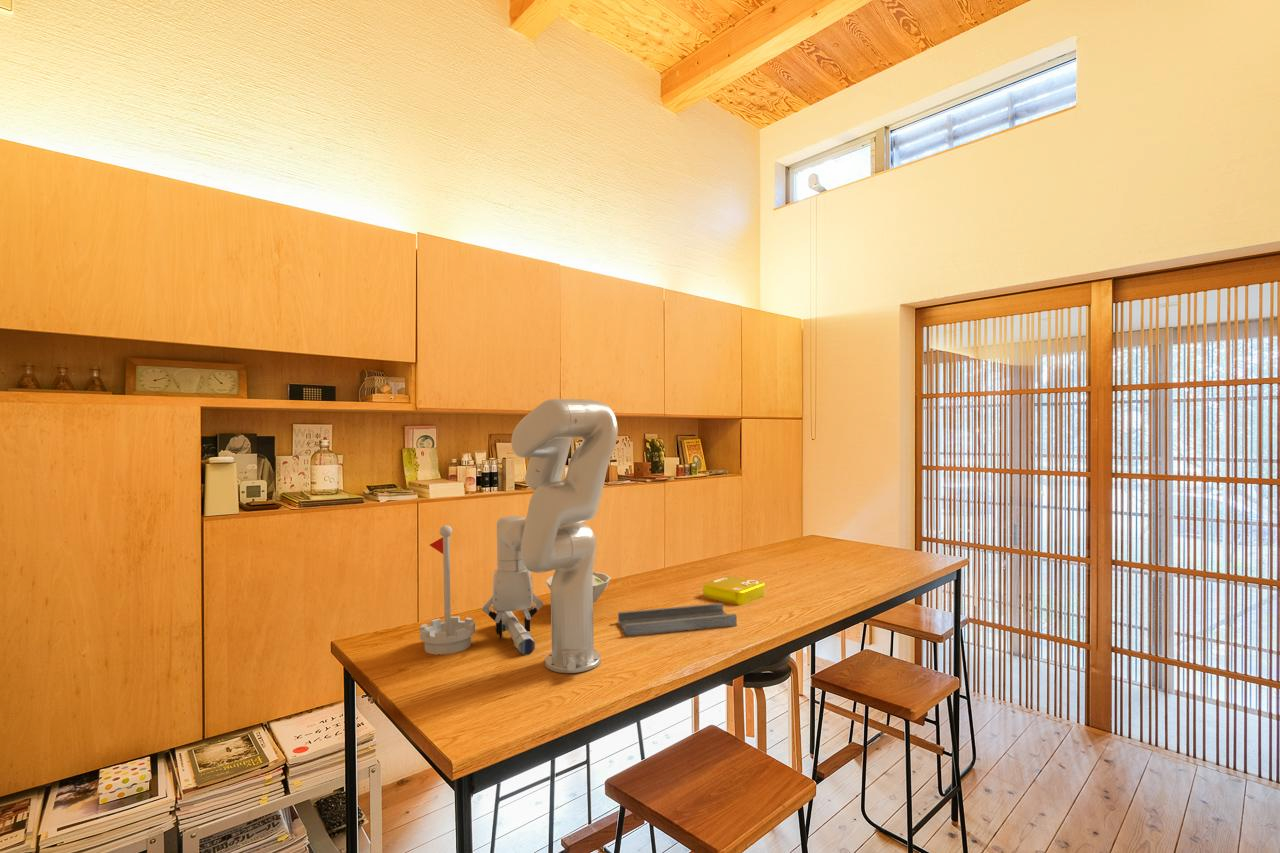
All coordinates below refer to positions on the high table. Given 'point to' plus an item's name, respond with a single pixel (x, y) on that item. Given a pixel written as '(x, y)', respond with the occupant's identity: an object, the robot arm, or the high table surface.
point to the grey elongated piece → (517, 633)
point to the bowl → (598, 584)
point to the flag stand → (446, 613)
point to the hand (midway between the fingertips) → (513, 634)
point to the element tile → (734, 590)
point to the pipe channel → (675, 619)
